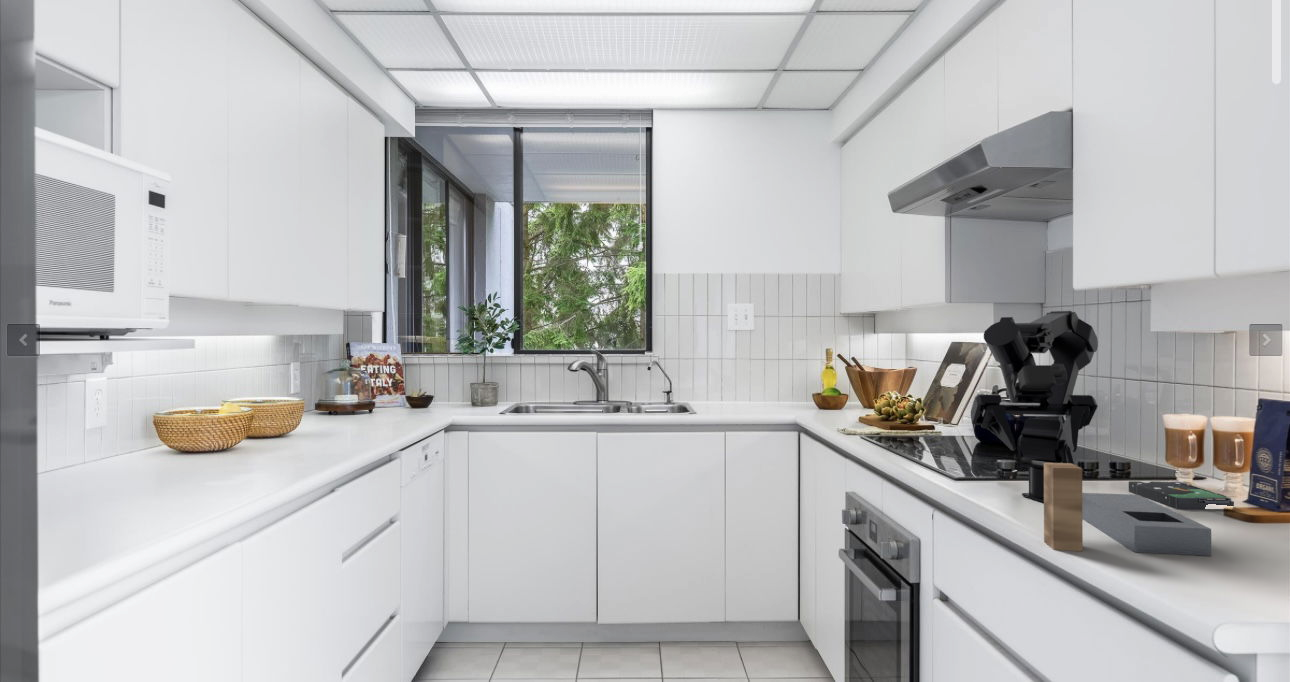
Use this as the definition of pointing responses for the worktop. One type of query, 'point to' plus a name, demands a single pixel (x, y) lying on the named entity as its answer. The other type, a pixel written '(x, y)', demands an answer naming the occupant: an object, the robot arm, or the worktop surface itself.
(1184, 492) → the disk drive
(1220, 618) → the worktop surface
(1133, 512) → the block
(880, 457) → the worktop surface
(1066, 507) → the walnut peg
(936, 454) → the worktop surface
